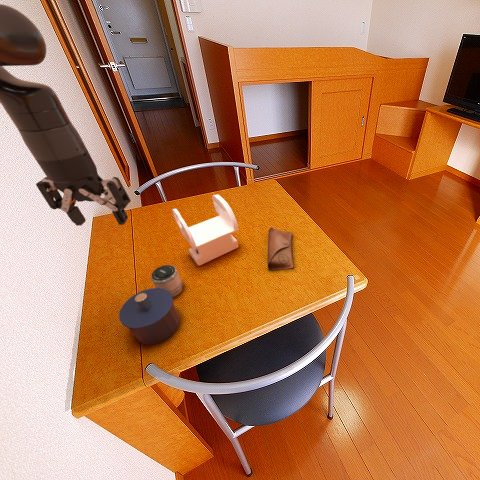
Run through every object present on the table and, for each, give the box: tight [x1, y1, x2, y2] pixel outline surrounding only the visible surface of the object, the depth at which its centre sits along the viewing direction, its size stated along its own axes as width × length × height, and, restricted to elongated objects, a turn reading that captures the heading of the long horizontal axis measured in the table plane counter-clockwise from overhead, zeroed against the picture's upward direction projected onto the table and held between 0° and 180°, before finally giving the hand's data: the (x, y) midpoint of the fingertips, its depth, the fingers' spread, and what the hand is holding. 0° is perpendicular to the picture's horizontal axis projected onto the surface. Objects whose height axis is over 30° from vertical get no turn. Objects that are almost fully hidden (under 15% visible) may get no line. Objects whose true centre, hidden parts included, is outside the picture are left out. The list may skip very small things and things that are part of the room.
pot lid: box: [118, 287, 174, 329], centre depth 64 cm, size 11×11×5 cm
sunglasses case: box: [267, 226, 295, 271], centre depth 91 cm, size 18×7×7 cm
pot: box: [128, 302, 181, 345], centre depth 67 cm, size 10×10×8 cm
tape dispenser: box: [171, 193, 240, 267], centre depth 86 cm, size 14×13×18 cm
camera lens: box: [150, 264, 183, 298], centre depth 76 cm, size 6×6×8 cm
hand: (102, 223), depth 60 cm, fingers open, 8 cm apart
